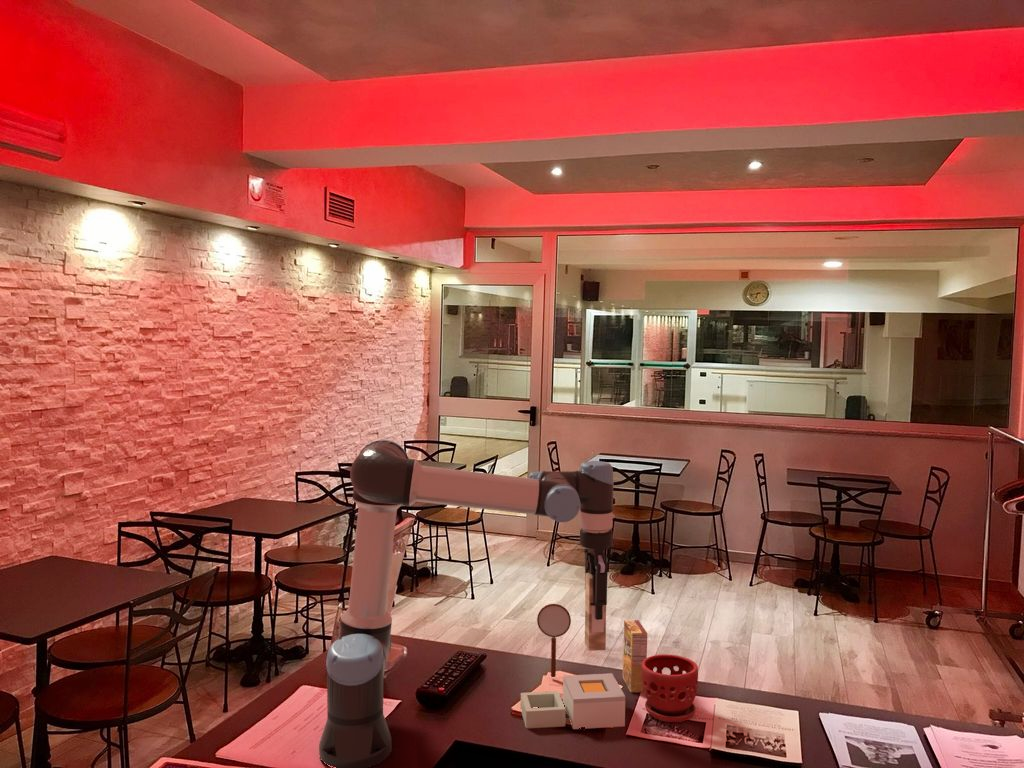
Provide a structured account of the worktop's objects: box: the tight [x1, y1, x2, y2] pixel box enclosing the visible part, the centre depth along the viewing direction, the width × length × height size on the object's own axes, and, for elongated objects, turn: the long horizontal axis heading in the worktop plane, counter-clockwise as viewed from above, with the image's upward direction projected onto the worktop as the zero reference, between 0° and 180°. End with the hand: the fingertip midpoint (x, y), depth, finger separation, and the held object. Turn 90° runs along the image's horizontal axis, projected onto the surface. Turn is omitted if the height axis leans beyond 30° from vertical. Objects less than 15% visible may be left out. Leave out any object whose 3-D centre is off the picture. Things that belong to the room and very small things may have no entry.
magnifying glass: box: [536, 603, 572, 678], centre depth 201 cm, size 9×2×20 cm, turn 85°
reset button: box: [581, 683, 606, 692], centre depth 183 cm, size 5×5×3 cm
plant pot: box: [641, 653, 699, 723], centre depth 184 cm, size 13×13×12 cm
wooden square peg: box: [584, 573, 607, 652], centre depth 181 cm, size 4×4×17 cm
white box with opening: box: [562, 672, 626, 730], centre depth 183 cm, size 12×12×7 cm
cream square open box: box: [520, 690, 566, 729], centre depth 182 cm, size 9×9×4 cm
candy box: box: [622, 619, 648, 694], centre depth 198 cm, size 9×4×15 cm, turn 6°
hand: (595, 627), depth 182 cm, fingers closed on wooden square peg, 4 cm apart
